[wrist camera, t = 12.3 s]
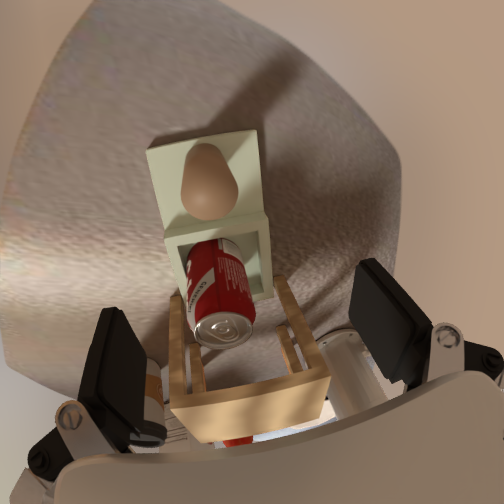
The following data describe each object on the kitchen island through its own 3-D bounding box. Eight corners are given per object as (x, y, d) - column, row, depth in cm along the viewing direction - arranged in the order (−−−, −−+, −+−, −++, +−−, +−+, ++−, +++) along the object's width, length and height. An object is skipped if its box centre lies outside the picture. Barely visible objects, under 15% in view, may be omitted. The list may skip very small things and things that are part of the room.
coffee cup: (169, 378, 46) (172, 449, 34) (127, 377, 45) (124, 447, 32) (162, 352, 42) (162, 432, 30) (116, 352, 40) (107, 429, 28)
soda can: (224, 223, 32) (238, 298, 22) (249, 262, 36) (270, 336, 26) (176, 249, 32) (172, 327, 23) (205, 283, 36) (212, 359, 27)
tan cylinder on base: (254, 129, 27) (287, 147, 18) (268, 284, 38) (292, 345, 29) (147, 148, 26) (121, 177, 16) (188, 300, 37) (191, 365, 28)
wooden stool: (283, 274, 38) (331, 375, 24) (285, 330, 45) (319, 418, 30) (170, 297, 36) (169, 409, 22) (191, 349, 43) (200, 443, 29)
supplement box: (210, 409, 56) (219, 465, 44) (181, 418, 57) (186, 471, 44) (186, 396, 51) (192, 459, 39) (156, 406, 52) (158, 464, 39)
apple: (232, 427, 65) (239, 460, 56) (211, 422, 60) (217, 457, 51) (255, 417, 63) (264, 451, 54) (234, 411, 59) (242, 449, 50)
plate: (301, 428, 77) (302, 431, 76) (273, 418, 66) (275, 422, 65) (353, 402, 74) (355, 406, 73) (336, 387, 63) (338, 392, 62)
